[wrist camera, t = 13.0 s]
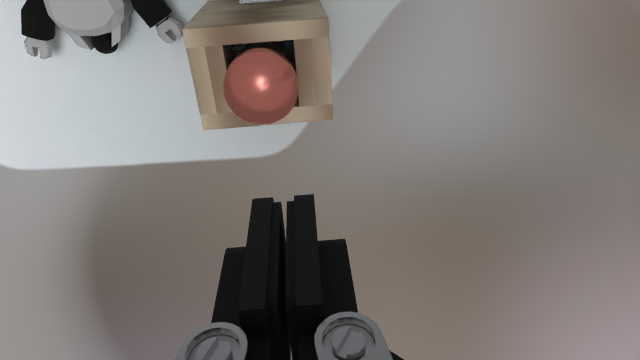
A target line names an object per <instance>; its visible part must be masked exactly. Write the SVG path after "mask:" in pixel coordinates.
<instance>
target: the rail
mask: <svg viewBox="0 0 640 360" xmlns="http://www.w3.org/2000/svg"><path fill="white" fill-rule="evenodd" d="M270 1H283V0H239V4H243V3H256V2H270Z"/></svg>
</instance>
